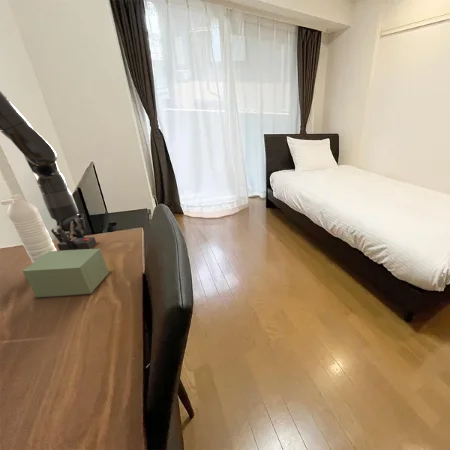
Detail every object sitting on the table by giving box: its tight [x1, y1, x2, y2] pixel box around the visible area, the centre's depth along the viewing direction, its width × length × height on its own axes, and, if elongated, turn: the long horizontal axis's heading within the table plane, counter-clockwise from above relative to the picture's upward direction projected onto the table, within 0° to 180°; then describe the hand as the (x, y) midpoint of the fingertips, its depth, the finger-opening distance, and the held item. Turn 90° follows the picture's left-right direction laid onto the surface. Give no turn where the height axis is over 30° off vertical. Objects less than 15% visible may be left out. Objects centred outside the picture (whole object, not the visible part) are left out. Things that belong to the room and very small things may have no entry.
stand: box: [22, 248, 110, 298], centre depth 79 cm, size 14×10×9 cm
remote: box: [56, 236, 97, 251], centre depth 99 cm, size 10×4×3 cm, turn 97°
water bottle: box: [0, 193, 58, 264], centre depth 82 cm, size 9×6×25 cm
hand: (78, 245), depth 99 cm, fingers closed on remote, 4 cm apart
